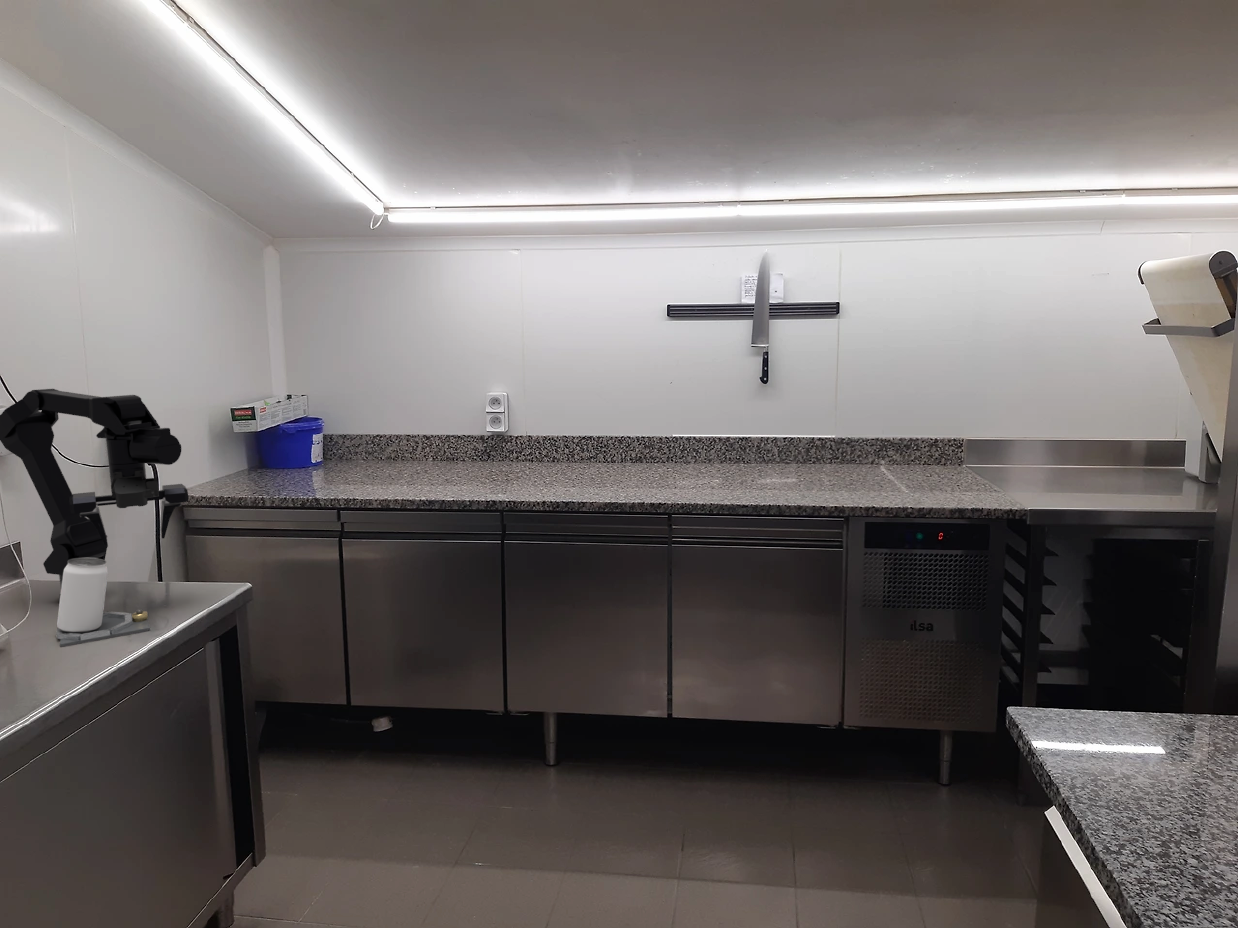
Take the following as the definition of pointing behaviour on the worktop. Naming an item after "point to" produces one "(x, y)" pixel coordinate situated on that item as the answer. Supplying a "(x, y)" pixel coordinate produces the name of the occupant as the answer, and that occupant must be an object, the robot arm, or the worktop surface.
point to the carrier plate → (108, 624)
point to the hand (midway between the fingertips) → (135, 541)
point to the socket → (101, 633)
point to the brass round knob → (139, 616)
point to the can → (82, 595)
